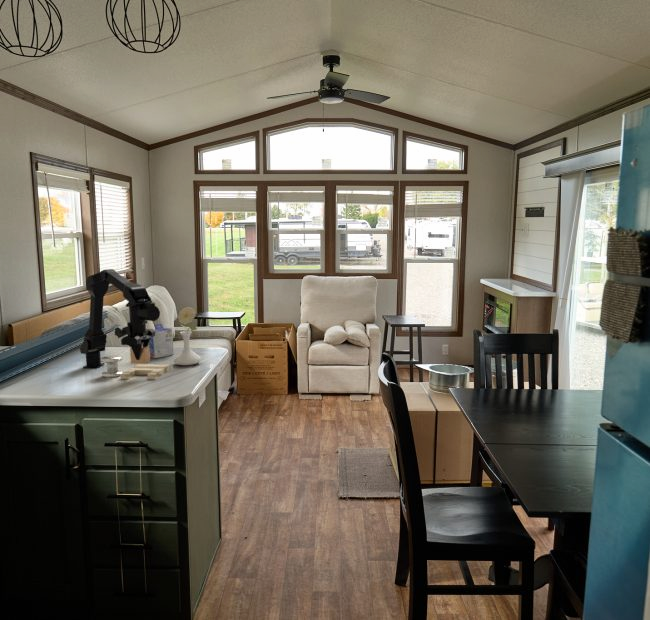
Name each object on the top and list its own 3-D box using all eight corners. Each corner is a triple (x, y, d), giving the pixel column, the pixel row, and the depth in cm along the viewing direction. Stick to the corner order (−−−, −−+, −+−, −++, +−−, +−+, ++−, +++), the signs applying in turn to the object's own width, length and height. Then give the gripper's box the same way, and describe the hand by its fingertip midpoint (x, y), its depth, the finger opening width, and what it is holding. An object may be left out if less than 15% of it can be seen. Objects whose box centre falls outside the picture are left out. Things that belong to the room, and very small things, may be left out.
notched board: (137, 368, 237) (137, 364, 237) (170, 368, 236) (170, 364, 235) (120, 379, 221) (120, 374, 221) (155, 379, 220) (155, 374, 220)
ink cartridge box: (168, 353, 266) (166, 322, 264) (174, 354, 262) (172, 323, 260) (148, 356, 259) (146, 325, 257) (154, 358, 255) (152, 326, 253)
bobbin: (108, 372, 232) (106, 355, 231) (127, 372, 231) (125, 355, 230) (98, 377, 224) (97, 360, 223) (118, 377, 223) (116, 360, 222)
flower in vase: (168, 364, 243) (165, 306, 240) (191, 359, 252) (188, 303, 248) (186, 369, 235) (182, 309, 231) (209, 364, 243) (206, 305, 239)
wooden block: (135, 360, 225) (134, 345, 224) (150, 360, 224) (149, 345, 223) (131, 363, 221) (129, 348, 220) (146, 363, 220) (145, 348, 220)
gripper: (127, 315, 230) (130, 353, 232) (106, 323, 212) (109, 364, 214) (154, 315, 229) (156, 353, 231) (135, 323, 211) (137, 364, 213)
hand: (140, 358), depth 222 cm, fingers closed on wooden block, 4 cm apart
